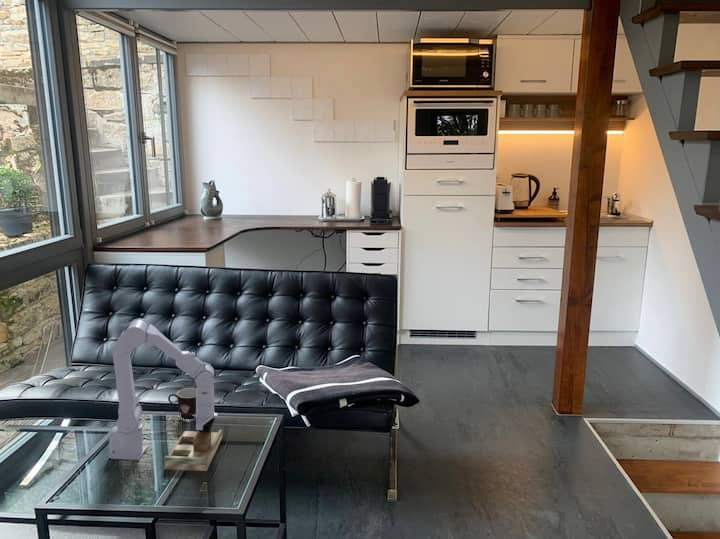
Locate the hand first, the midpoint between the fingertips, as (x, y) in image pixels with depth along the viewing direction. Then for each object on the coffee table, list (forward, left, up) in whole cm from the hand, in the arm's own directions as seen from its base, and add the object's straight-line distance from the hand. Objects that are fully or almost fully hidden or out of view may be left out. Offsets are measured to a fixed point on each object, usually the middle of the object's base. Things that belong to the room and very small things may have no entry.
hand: (205, 439), depth 180 cm
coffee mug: (-13, +21, -3) cm, 24 cm away
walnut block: (0, -4, -1) cm, 4 cm away
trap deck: (-3, -3, -3) cm, 5 cm away
